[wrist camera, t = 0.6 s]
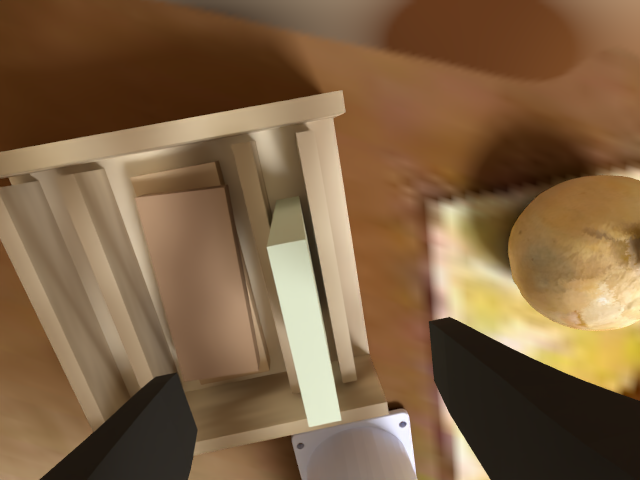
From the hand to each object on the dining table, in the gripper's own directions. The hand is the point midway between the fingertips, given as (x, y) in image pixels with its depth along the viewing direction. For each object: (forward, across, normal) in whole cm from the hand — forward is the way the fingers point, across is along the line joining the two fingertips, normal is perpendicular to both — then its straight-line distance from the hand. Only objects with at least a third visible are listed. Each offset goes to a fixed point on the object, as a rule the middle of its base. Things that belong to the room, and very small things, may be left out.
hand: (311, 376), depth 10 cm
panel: (+10, 0, 0) cm, 10 cm away
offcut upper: (+9, +5, 0) cm, 10 cm away
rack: (+10, +5, 0) cm, 11 cm away
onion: (+11, -15, +2) cm, 19 cm away
